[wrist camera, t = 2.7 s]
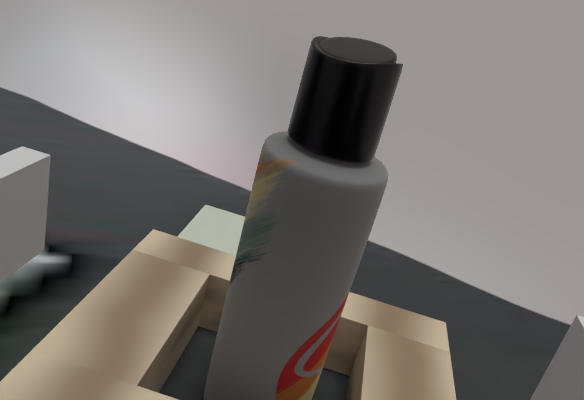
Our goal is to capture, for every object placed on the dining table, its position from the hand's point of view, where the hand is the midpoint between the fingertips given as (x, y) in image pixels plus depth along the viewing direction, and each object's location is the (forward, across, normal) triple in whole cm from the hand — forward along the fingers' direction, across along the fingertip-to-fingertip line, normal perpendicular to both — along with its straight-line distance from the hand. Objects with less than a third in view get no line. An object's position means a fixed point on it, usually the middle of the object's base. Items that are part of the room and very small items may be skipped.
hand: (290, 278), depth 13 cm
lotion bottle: (+11, 0, -15) cm, 19 cm away
